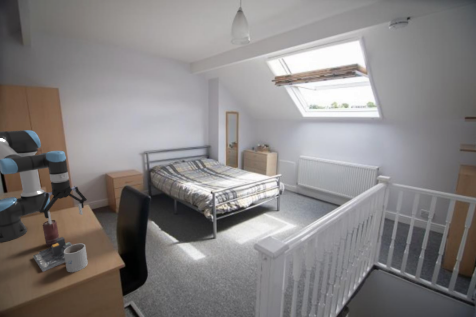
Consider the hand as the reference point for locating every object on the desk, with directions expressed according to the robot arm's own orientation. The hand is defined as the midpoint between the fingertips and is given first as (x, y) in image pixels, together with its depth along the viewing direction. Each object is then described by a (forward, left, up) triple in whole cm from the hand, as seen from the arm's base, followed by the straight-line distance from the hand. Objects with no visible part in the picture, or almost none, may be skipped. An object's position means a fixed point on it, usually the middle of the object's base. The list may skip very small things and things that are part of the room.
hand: (66, 218), depth 118 cm
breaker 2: (+5, -3, -18) cm, 19 cm away
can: (-17, -4, -20) cm, 26 cm away
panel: (-1, -6, -20) cm, 21 cm away
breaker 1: (-6, -3, -18) cm, 19 cm away
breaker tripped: (-1, -6, -18) cm, 19 cm away
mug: (+15, -2, -20) cm, 25 cm away
